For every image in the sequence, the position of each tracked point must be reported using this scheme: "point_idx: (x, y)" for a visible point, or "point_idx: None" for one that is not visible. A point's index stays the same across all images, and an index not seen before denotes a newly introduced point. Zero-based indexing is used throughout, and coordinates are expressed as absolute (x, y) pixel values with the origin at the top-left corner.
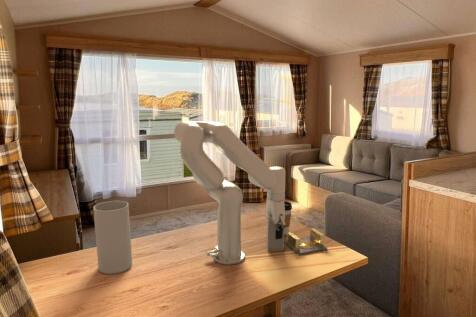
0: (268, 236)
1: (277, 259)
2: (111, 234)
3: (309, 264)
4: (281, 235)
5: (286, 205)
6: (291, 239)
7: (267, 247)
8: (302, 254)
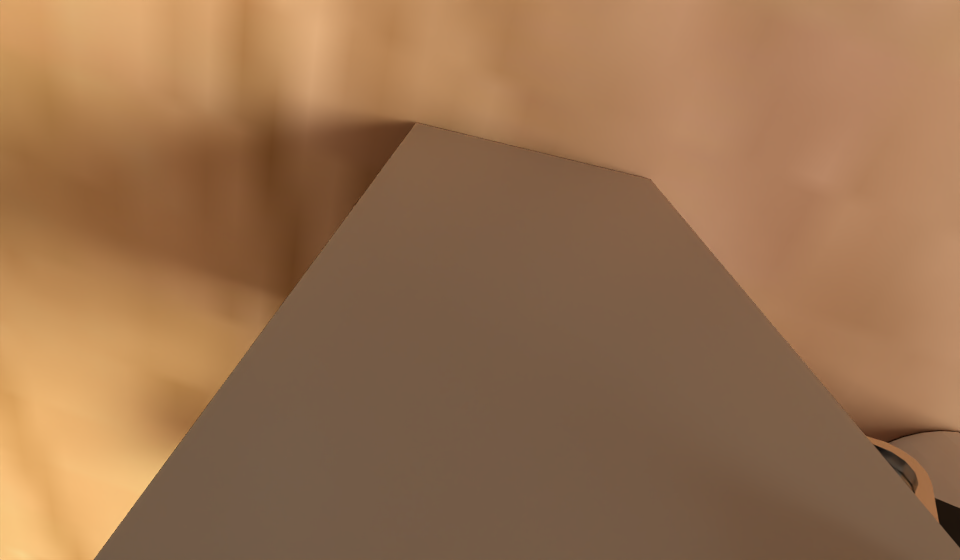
0: (362, 205)
1: (134, 167)
2: None
3: (34, 442)
4: None
5: None
6: None
7: (504, 147)
8: None
